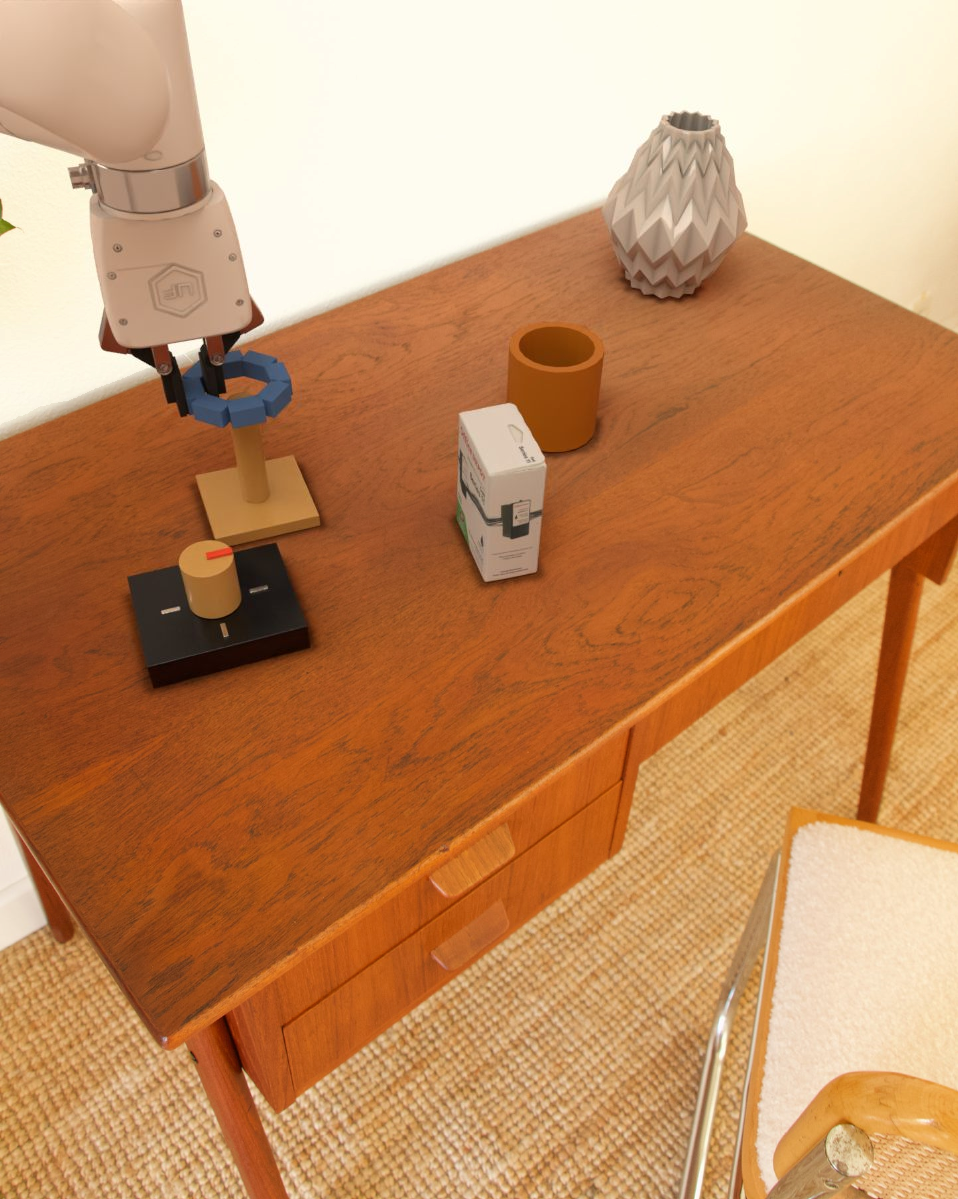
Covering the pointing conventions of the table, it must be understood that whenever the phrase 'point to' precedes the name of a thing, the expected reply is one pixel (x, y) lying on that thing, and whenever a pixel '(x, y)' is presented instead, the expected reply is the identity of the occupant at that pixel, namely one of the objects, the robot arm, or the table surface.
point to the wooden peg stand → (255, 492)
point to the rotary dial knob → (210, 579)
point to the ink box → (500, 491)
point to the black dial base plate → (218, 620)
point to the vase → (676, 207)
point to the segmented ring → (240, 409)
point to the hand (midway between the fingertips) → (197, 402)
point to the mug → (556, 382)
